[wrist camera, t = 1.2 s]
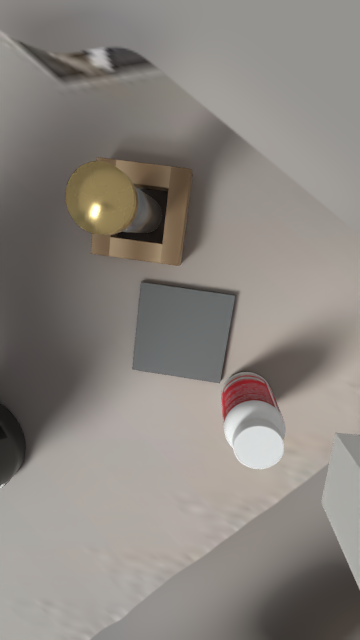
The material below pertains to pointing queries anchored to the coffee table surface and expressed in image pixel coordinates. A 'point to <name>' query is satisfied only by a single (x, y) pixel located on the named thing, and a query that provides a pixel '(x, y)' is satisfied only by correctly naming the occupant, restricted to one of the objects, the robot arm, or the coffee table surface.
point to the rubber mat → (182, 331)
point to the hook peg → (109, 201)
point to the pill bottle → (252, 420)
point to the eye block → (175, 220)
